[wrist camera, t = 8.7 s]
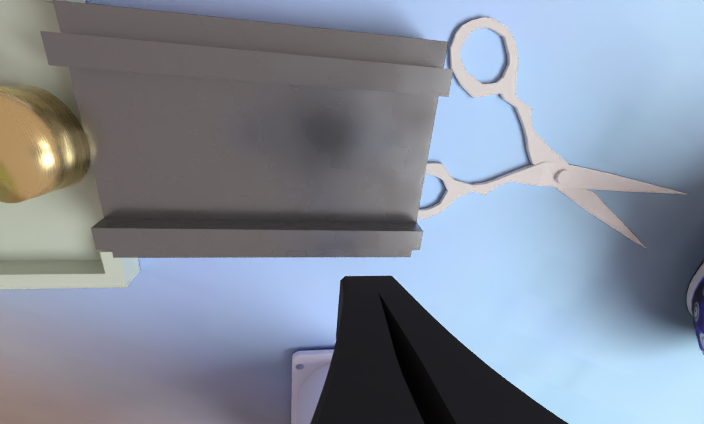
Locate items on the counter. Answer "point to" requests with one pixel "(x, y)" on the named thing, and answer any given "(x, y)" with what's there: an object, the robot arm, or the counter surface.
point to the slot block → (250, 133)
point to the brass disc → (38, 144)
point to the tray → (59, 206)
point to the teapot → (697, 304)
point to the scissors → (530, 146)
